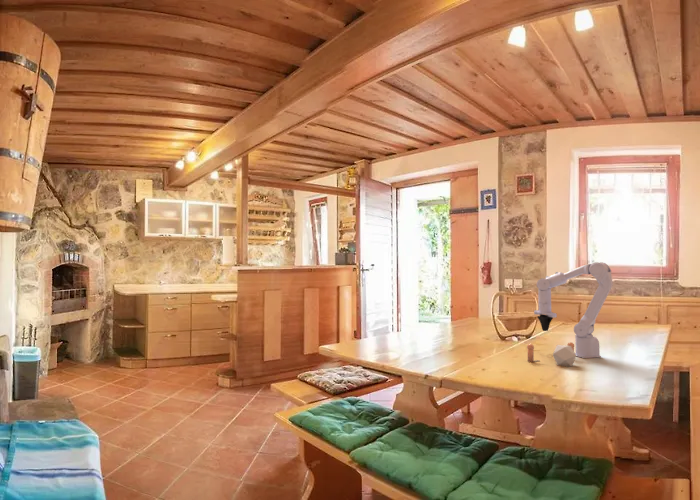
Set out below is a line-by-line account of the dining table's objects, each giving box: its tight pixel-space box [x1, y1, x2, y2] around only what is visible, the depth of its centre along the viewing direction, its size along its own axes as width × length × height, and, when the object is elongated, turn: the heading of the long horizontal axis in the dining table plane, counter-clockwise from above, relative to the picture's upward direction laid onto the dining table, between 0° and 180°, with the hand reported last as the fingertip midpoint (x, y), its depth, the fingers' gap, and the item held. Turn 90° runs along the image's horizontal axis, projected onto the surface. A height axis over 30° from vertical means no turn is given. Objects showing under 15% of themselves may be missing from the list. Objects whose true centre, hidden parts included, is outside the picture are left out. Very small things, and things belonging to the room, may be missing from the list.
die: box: [552, 344, 577, 367], centre depth 178 cm, size 8×9×10 cm
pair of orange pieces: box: [526, 342, 575, 363], centre depth 187 cm, size 23×3×8 cm, turn 101°
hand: (545, 330), depth 208 cm, fingers closed
